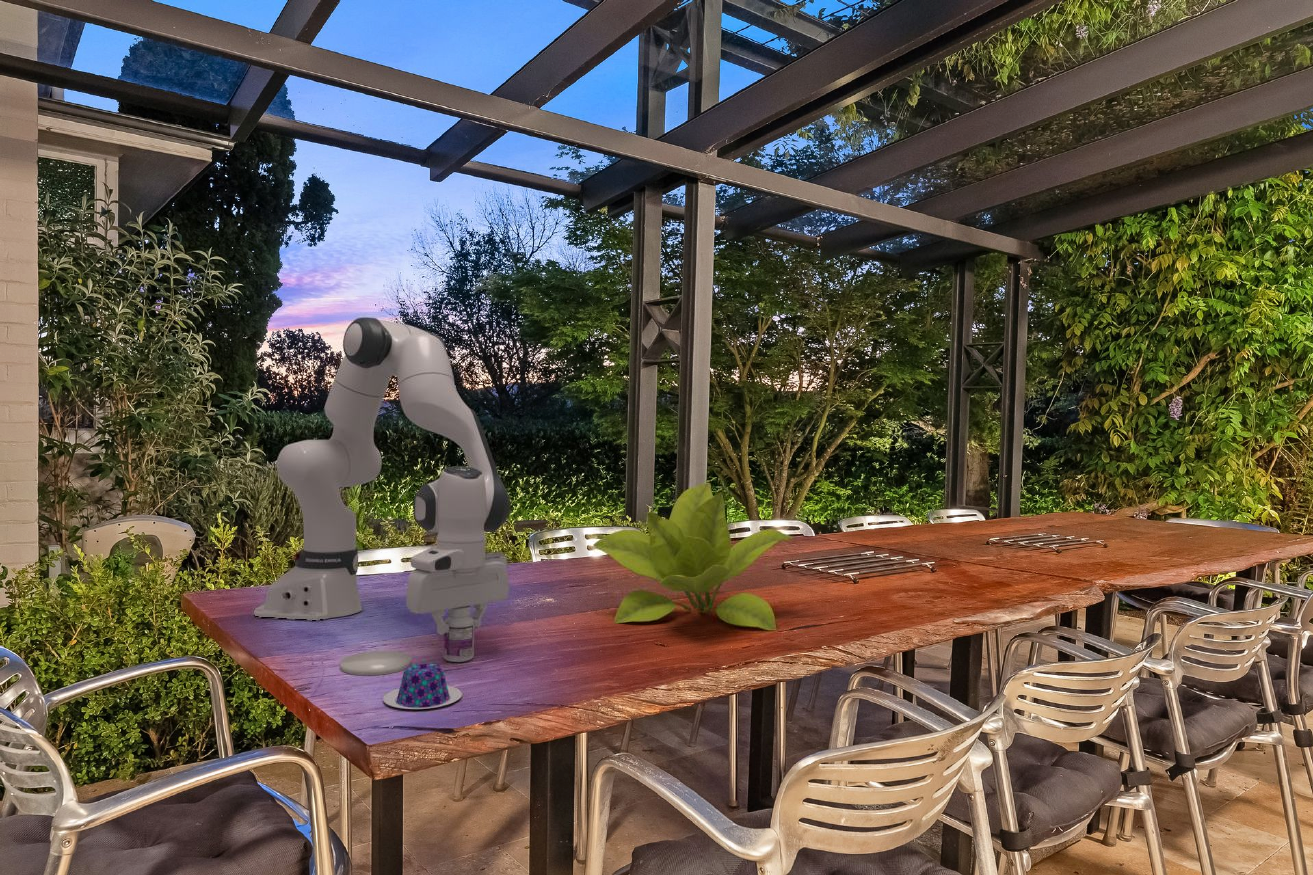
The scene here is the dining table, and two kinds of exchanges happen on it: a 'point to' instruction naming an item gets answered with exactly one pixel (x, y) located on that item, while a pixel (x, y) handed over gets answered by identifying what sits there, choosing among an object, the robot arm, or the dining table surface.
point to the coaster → (375, 663)
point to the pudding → (422, 688)
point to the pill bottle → (459, 635)
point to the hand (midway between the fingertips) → (459, 630)
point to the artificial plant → (691, 561)
